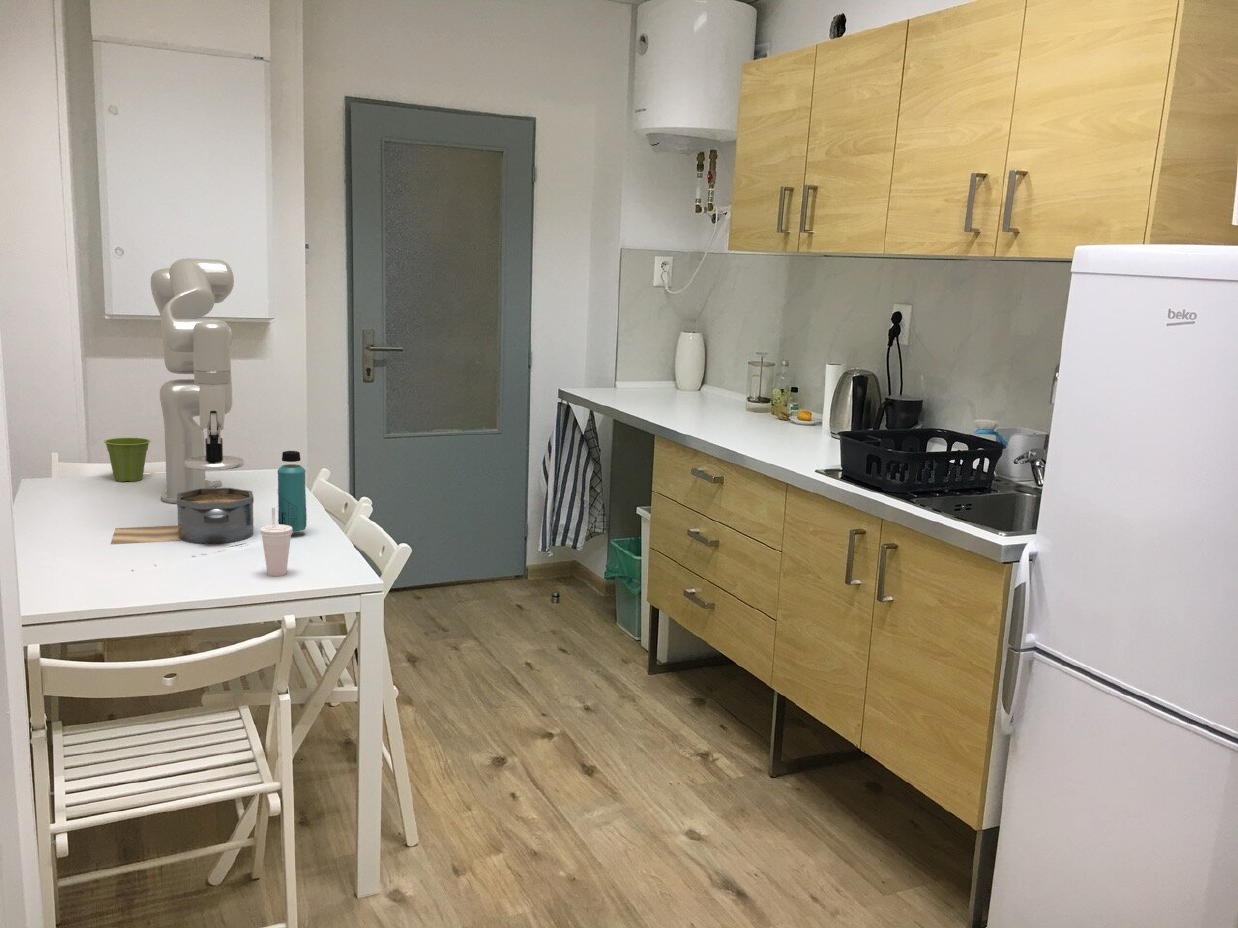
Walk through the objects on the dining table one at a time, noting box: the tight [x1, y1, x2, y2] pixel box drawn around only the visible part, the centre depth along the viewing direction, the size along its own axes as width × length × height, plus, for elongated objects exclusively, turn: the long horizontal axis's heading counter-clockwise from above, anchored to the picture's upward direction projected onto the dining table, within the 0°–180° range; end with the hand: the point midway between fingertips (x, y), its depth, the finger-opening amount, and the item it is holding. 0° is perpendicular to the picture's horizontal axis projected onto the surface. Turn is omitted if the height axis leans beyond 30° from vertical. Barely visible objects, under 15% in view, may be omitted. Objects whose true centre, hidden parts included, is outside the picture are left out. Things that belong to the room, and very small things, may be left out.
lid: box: [185, 437, 245, 471], centre depth 229 cm, size 12×12×6 cm
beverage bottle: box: [276, 450, 308, 533], centre depth 238 cm, size 6×7×20 cm
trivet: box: [110, 525, 182, 545], centre depth 230 cm, size 14×14×1 cm
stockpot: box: [176, 487, 255, 548], centre depth 232 cm, size 21×16×10 cm
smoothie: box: [259, 506, 294, 577], centre depth 209 cm, size 6×6×14 cm
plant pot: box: [103, 437, 151, 483], centre depth 287 cm, size 12×12×11 cm
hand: (214, 458), depth 229 cm, fingers closed on lid, 3 cm apart
